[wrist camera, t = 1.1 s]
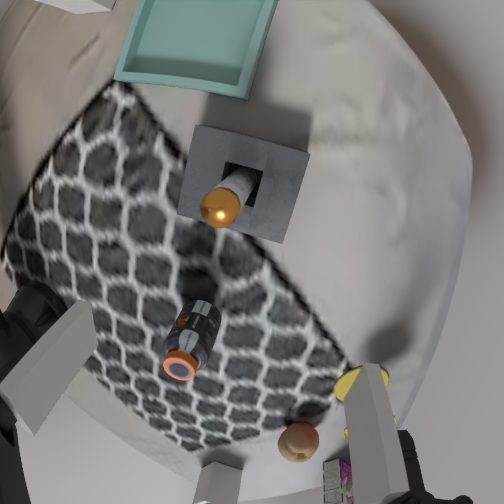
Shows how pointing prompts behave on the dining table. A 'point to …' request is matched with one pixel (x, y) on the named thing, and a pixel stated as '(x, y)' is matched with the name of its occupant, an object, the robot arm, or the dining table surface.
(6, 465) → the robot arm
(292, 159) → the block
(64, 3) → the milk carton
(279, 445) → the fruit
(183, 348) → the pill bottle
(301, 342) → the dining table surface
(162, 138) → the dining table surface
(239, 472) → the soap bottle
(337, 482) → the candy bar box
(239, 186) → the pin
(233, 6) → the tray
